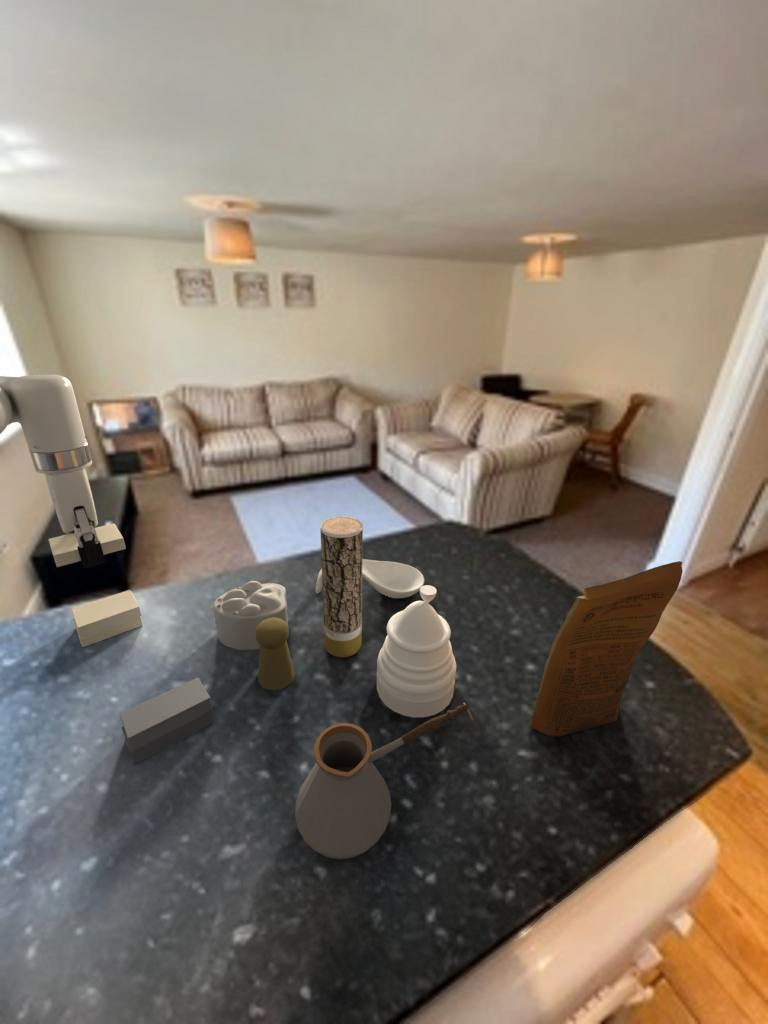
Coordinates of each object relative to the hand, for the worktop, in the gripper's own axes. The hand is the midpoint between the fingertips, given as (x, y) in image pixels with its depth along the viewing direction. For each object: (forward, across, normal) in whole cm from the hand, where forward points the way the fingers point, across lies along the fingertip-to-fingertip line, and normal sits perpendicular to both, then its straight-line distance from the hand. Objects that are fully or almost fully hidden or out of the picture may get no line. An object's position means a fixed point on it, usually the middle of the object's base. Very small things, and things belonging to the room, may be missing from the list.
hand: (90, 554), depth 78 cm
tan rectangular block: (+17, -2, 0) cm, 17 cm away
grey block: (+17, +29, +2) cm, 34 cm away
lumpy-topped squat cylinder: (+17, +16, +21) cm, 31 cm away
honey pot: (+17, +45, +36) cm, 60 cm away
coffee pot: (+17, +57, +19) cm, 63 cm away
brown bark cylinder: (+17, +30, +32) cm, 47 cm away
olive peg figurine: (+17, +29, +19) cm, 39 cm away
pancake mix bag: (+17, +66, +51) cm, 85 cm away
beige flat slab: (-1, 0, 0) cm, 1 cm away
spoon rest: (+17, +19, +47) cm, 53 cm away
